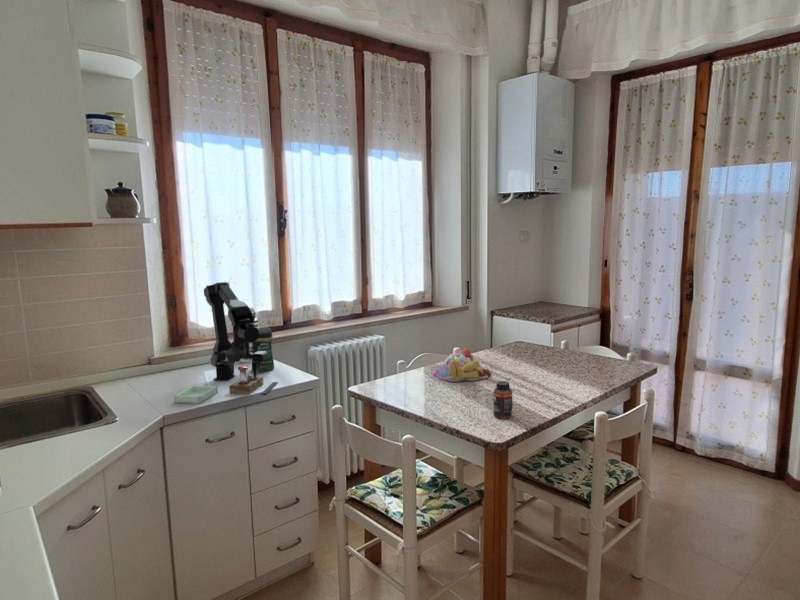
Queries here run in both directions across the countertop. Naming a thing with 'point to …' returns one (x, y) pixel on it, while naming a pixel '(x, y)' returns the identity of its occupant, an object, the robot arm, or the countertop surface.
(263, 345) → the coffee jar
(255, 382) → the block
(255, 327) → the black white patterned bottle
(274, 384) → the strip
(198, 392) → the tray
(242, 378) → the lock pin
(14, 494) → the countertop surface
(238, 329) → the robot arm
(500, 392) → the supplement bottle
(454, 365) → the colorful dessert plate
